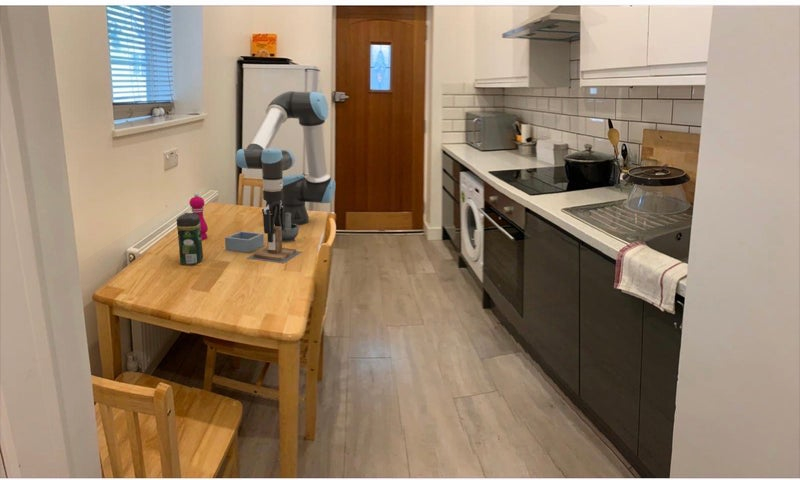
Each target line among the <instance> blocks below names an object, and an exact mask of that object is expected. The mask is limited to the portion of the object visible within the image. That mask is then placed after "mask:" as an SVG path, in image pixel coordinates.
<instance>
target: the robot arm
mask: <svg viewBox="0 0 800 480" xmlns="http://www.w3.org/2000/svg"><path fill="white" fill-rule="evenodd" d="M328 118H329V104H328V101H327V98H326V96H325V94H323V93H322V92H315V91H293V90H292V91H291V90H289V91H286V92H283V93H280V94H279V95H277V96H276V97H275V98H273V99H272V100H271V102H270V103H269V104H268V105H267V107H266V109H265V115H264V118H263V119H262V121H261V123H260V125H259V126H258V127H257V130H256V131H255V133H254V135H253V137H252V138H251V140H250V142H249V144H248V146H247V147H246V149H245V148H240V149H238V150H237V151H236V154H235V163H236V165H237V167H239V168H242V169H248V170H249V169H250V170H253V169H254V170H262V171H261V172H262V173H261V174H262V189H263V190H262V198H263V201H266V204H265V208H262V209H261V213H262V219H263V234H265V235H266V234H268V238H267V247H268V250H276V248H275V234H274V226H279V227H281V229H282V230H284V224H285V217H286V216H285V213H291V224H296V225H299V226H301V225H305V224H308V223H309V222H310V217H309V214H308V211H307V208H306V203H316V204H318V203H319V204H329V203H331V202H333V199H334V196H335V191H336V181H335V179H333V178H332V179H331V177H332V176H331V174H330V173H329V172H328V170H327V169H328V168H327V162H326V151H325V141H324V133H323V132H324V131H323V125H324V124H325V122H326V120H327V119H328ZM288 119H297V120H298V124H299V126H301V127H302V131H303V138H304V146H305V153H306V162H307V171H308V174H307V175H306V176H305V174H303V173H297V174H290V175H285V176H283V175H284V174H283V171H287V170H289V169H290V168H292V167H293V166H294V164H295V161H296V160H295V156H294V154H293V153H292V152H291V151H290V150H287V149H286V150H282V149H280V148H275V147H274V148H272V147H271V144H273V141H274V139H275V137H276V135H277V134H278V132H279V130H280V128H281V126H282V125H283V124H284V123H286V121H287V120H288Z"/></svg>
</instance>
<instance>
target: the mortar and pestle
mask: <svg viewBox="0 0 800 480" xmlns="http://www.w3.org/2000/svg"><path fill="white" fill-rule="evenodd" d="M285 216H286V217H285V224H284V230H282V243H283V242H285V243H286V242H287V243H288V242H289V243H291V242H296V238H298V237H297V236H298V235H299V230H300V225H296V224H291V213H285Z"/></svg>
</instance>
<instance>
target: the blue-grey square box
mask: <svg viewBox="0 0 800 480" xmlns="http://www.w3.org/2000/svg"><path fill="white" fill-rule="evenodd" d="M264 234H265V233H262V232H261V233H259V232H251V231H243V230H239V231H237V232H234V233H232V234H230V235H228V236H225V237H224V240H225V241H224V243H225V244H224V245H225V251H230V252H237V253H246V254H251V253H253V252H254V251H255V252H256V251H257V250H259V249H261V248H263V247H264V246H265V238H264V237H265V235H264Z"/></svg>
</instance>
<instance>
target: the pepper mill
mask: <svg viewBox="0 0 800 480" xmlns="http://www.w3.org/2000/svg"><path fill="white" fill-rule="evenodd" d="M189 206H190V207H191V208H190V209H191V213H196V214H197V215H199V217H200V227H201V240H202V241H203V240H207V239H208V229H209V228H208V227H209V226H208V225H207V222H206V220H205V218H204V217H205V216H204V211H205V210H204V209H205V208H204V206H205V199H203V197H201V196H200V195H199V193H197V192H196V193H194V196H193V197H191V199H190V200H189Z"/></svg>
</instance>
